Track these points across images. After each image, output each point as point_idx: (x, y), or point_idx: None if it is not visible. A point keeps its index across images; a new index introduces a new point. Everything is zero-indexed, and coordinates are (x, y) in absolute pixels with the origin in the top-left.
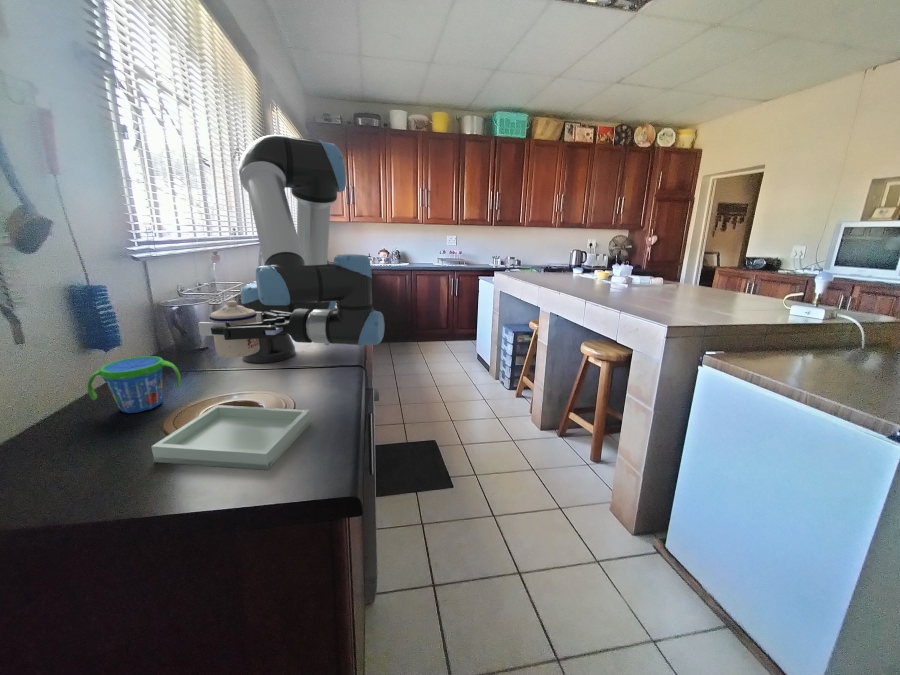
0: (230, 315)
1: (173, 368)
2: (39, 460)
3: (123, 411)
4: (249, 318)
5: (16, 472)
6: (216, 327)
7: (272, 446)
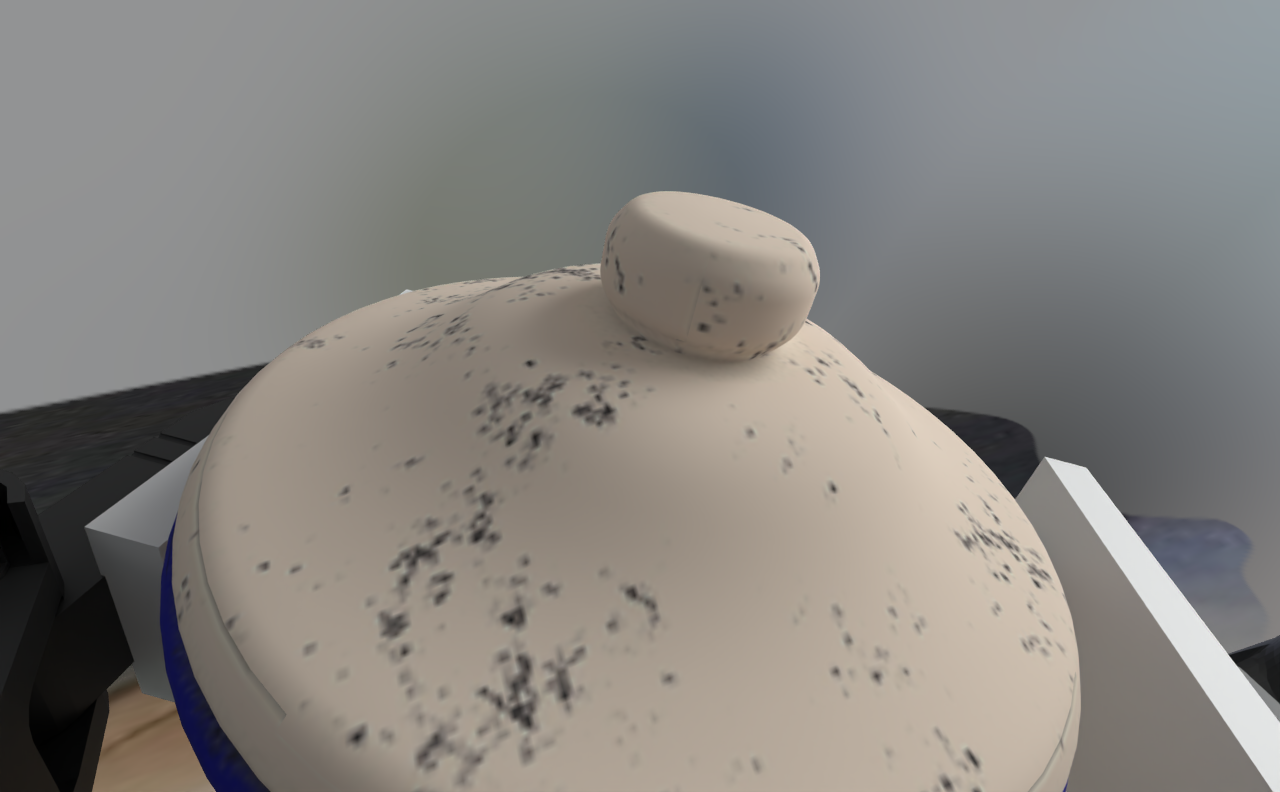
0: (232, 433)
1: None
2: (147, 420)
3: None
4: None
5: (88, 405)
6: (195, 444)
7: None
